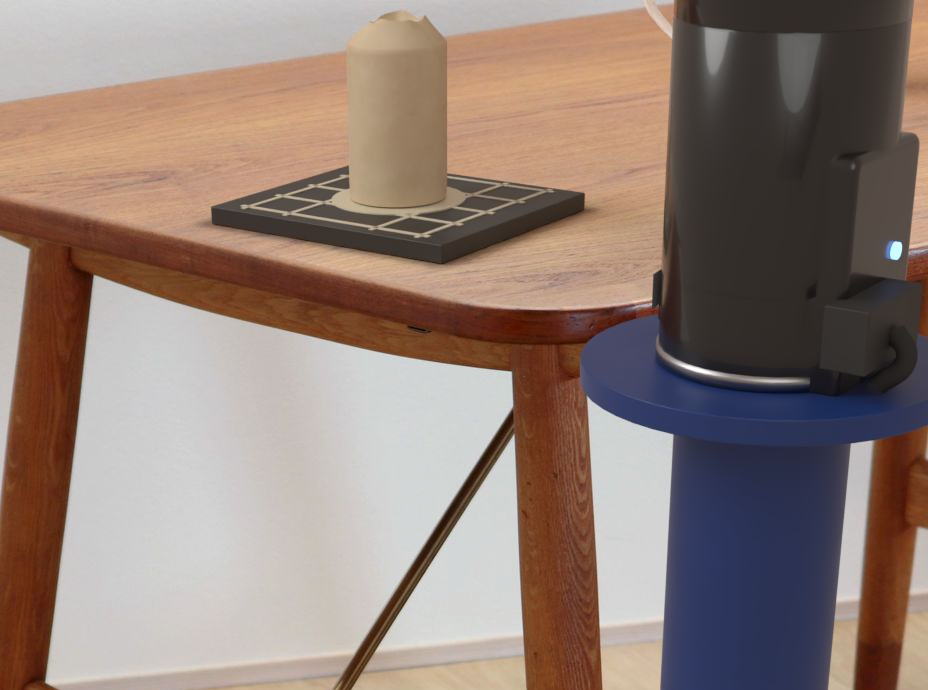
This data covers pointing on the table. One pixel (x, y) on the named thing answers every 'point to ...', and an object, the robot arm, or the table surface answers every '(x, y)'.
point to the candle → (397, 112)
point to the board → (400, 215)
